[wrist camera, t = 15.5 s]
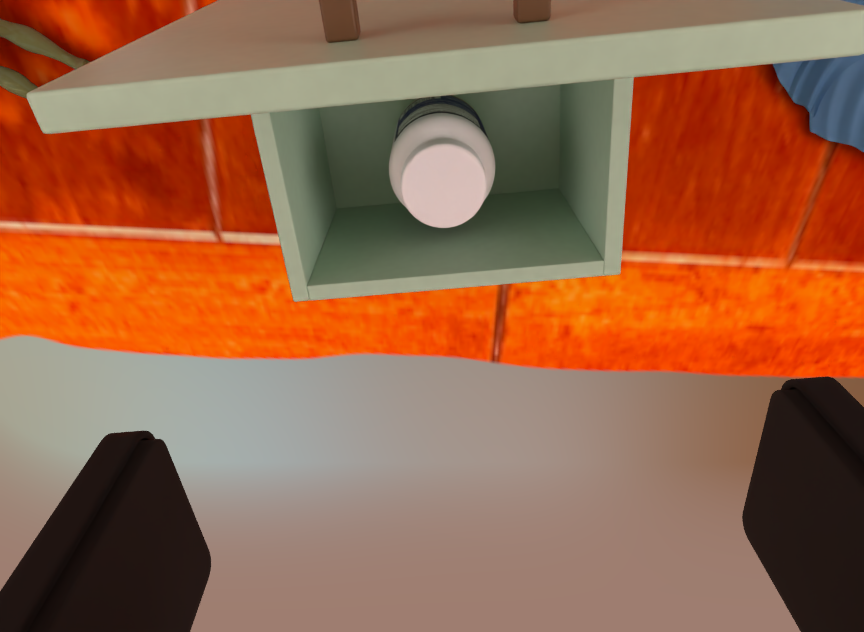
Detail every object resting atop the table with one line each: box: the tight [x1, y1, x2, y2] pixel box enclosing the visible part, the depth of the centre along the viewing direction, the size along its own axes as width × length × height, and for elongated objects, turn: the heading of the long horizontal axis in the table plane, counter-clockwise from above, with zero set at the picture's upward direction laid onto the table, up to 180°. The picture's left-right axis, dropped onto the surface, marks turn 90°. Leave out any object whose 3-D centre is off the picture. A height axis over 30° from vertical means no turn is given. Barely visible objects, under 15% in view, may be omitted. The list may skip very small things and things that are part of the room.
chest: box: [251, 77, 634, 302], centre depth 31 cm, size 13×16×12 cm
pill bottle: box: [389, 95, 495, 228], centre depth 32 cm, size 5×5×10 cm
